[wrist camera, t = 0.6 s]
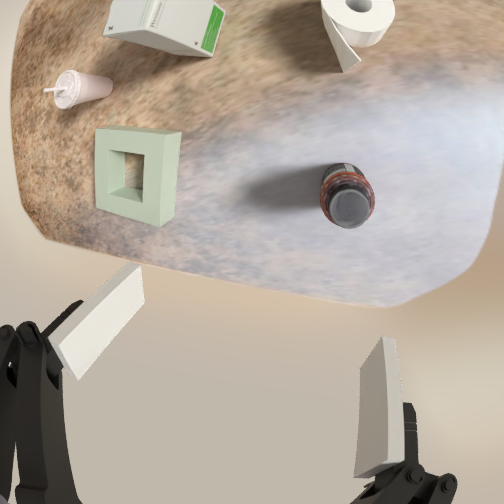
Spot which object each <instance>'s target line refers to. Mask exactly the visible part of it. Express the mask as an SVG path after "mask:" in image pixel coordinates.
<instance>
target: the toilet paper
mask: <svg viewBox="0 0 504 504" xmlns="http://www.w3.org/2000/svg"><path fill="white" fill-rule="evenodd" d="M321 8H322V19H323V23H324V26H325V29H326V31H327V33H328V36H329V38H330V40H331V43H332V45H333V48H334V50H335V53H336V55H337V58H338V60H339V63H340V66H341V68H342V71H343V73H344V72H346V71H347V70H349V69H350V68H352V67H353V66H354V65H356V64H357V63H359V62H360V61H362V60H361V59H360V58H359V57H358V56H357V54H356V53H355V52H354V51H353V50H352V49H351V47H350V46H352V47H368V46H371V45H374V44H375V43H377V42H378V41H379V40H380V39H381V38H382V36H383V35H384V33H385V32H386V30H387V29H388V27H389V26H390V24H391V23H392V21H393V19H394V17H395V7H394V4H393V1H392V0H321Z"/></svg>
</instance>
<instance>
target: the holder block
mask: <svg viewBox="0 0 504 504" xmlns="http://www.w3.org/2000/svg"><path fill="white" fill-rule="evenodd" d="M181 134H182V132H178V131H170V130H162V129H153V128H142V127H130V126H115V125H113V126H107V127H102V128H97V129H96V130H95V198H96V208H98V209H101V210H105V211H108V212H111V213H114V214H117V215H121V216H124V217H127V218H130V219H134V220H137V221H140V222H143V223H147V224H150V225H153V226H157V227H161V226H162V225H163V224H165V223H166V222H168V221H169V220H170V219H172V218H173V217H174V209H175V195H176V182H177V171H178V161H179V151H180V143H181ZM126 152H130V153H137V154H143V155H145V156H144V175H143V190H139V189H135V188H130V187H126V186H125V153H126Z"/></svg>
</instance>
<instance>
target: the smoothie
mask: <svg viewBox="0 0 504 504" xmlns="http://www.w3.org/2000/svg"><path fill="white" fill-rule="evenodd" d="M112 90H113V81H112V80H111V79H110V78H107V77H102V76H97V75H91V74H85V73H78V72H77V71H75V70H67V71H65V72H63V73H62V74H61V75H60V76H59V78H58V80H57V82H56V85H55V88H46V89H43V92H51V91H54V100H55V104H56V105H57V107H58V108H60V109H69V108H71V107H72V106H73V105H76V104H80V103H84V102H87V101H91V100H95V99H100V98H104V97H107V96H109V95H110V94H111V92H112Z"/></svg>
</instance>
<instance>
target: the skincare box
mask: <svg viewBox="0 0 504 504" xmlns="http://www.w3.org/2000/svg"><path fill="white" fill-rule="evenodd" d="M225 14H226V11H225V10H224V9H223V8H221V7H220V6H219V5H218V4H217V3H215V2H214V1H213V0H113V2H112V4H111V6H110V14H109V17H108V20H107V23H106V26H105V29H104V32H103V37H108V38H115V39H120V40H124V41H128V42H133V43H137V44H141V45H144V46H148V47H152V48H155V49H159V50H162V51H165V52H168V53H171V54H174V55H184V56H200V57H213V54H214V51H215V47H216V44H217V41H218V37H219V33H220V30H221V27H222V23H223V20H224V17H225Z"/></svg>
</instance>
